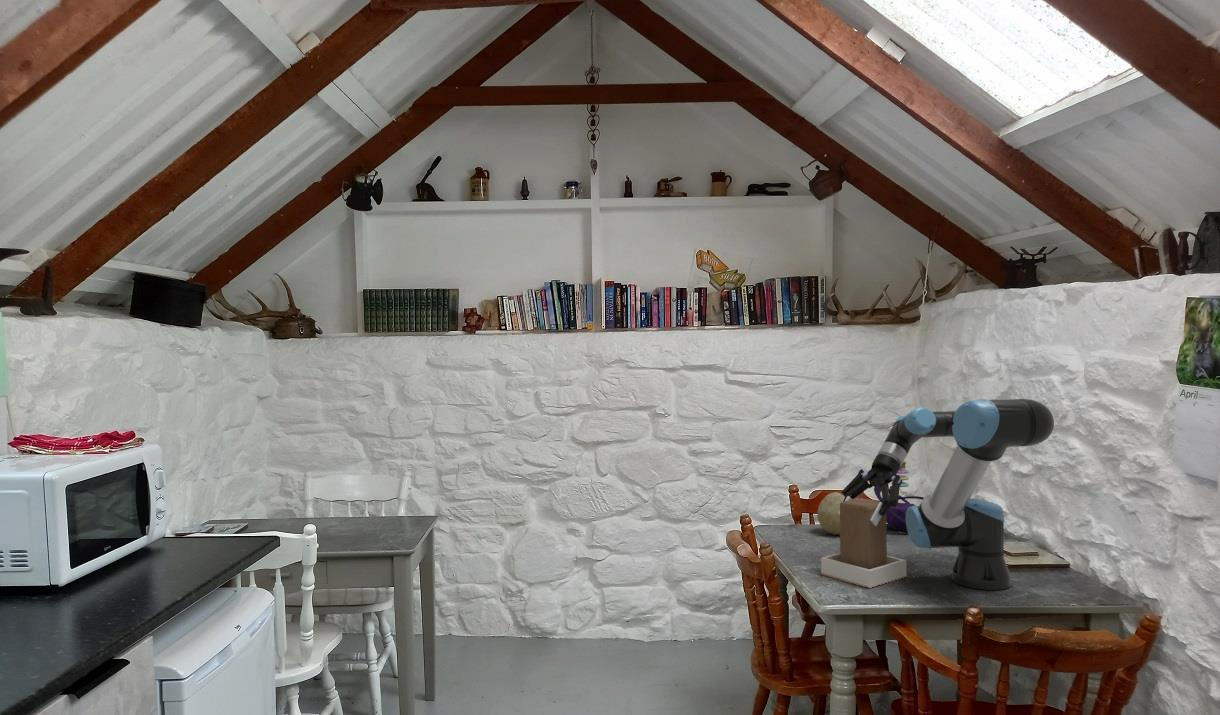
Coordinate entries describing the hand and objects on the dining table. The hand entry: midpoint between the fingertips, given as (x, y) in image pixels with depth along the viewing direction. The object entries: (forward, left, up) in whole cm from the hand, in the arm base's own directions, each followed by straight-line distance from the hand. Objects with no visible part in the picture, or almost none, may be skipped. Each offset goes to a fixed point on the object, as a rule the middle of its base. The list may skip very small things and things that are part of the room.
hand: (856, 519), depth 224 cm
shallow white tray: (0, -3, -17) cm, 17 cm away
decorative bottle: (+26, -60, -17) cm, 68 cm away
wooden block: (0, -3, -15) cm, 16 cm away
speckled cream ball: (+36, -36, -17) cm, 54 cm away
